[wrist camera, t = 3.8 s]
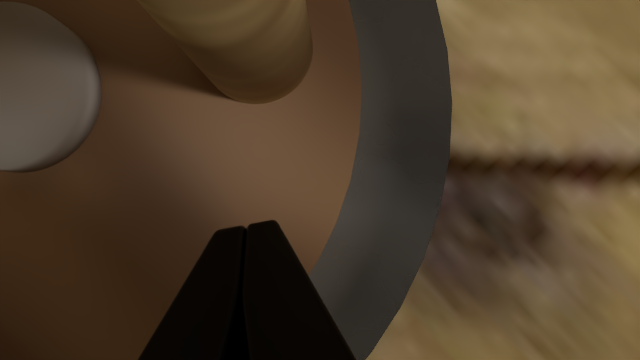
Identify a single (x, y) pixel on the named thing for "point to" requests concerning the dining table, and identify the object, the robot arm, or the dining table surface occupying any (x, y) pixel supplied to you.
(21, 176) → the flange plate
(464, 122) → the dining table surface
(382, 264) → the bowl
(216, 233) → the robot arm
